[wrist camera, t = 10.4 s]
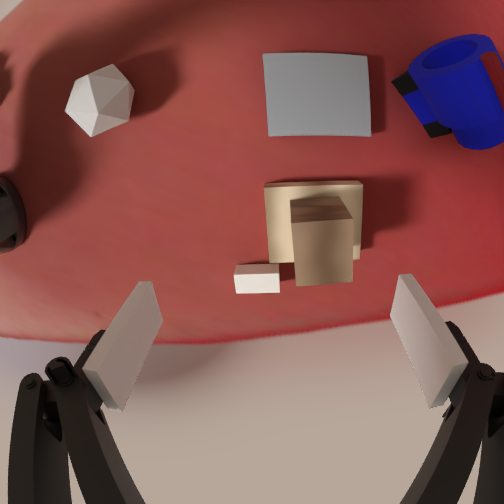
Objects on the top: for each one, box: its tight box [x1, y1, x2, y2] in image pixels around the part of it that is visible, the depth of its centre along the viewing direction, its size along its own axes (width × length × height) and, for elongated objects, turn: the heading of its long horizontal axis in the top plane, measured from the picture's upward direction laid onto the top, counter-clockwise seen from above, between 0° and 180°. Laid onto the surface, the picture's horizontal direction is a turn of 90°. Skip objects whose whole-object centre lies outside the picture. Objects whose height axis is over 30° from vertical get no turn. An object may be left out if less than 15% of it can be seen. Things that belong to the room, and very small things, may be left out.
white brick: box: [234, 263, 280, 293], centre depth 41 cm, size 6×3×3 cm, turn 95°
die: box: [65, 64, 135, 137], centre depth 29 cm, size 8×9×10 cm
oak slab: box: [264, 180, 363, 263], centre depth 37 cm, size 12×10×3 cm
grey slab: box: [263, 53, 371, 137], centre depth 30 cm, size 12×10×3 cm
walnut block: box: [290, 196, 353, 286], centre depth 32 cm, size 6×7×8 cm
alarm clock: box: [392, 34, 504, 150], centre depth 21 cm, size 12×12×15 cm
